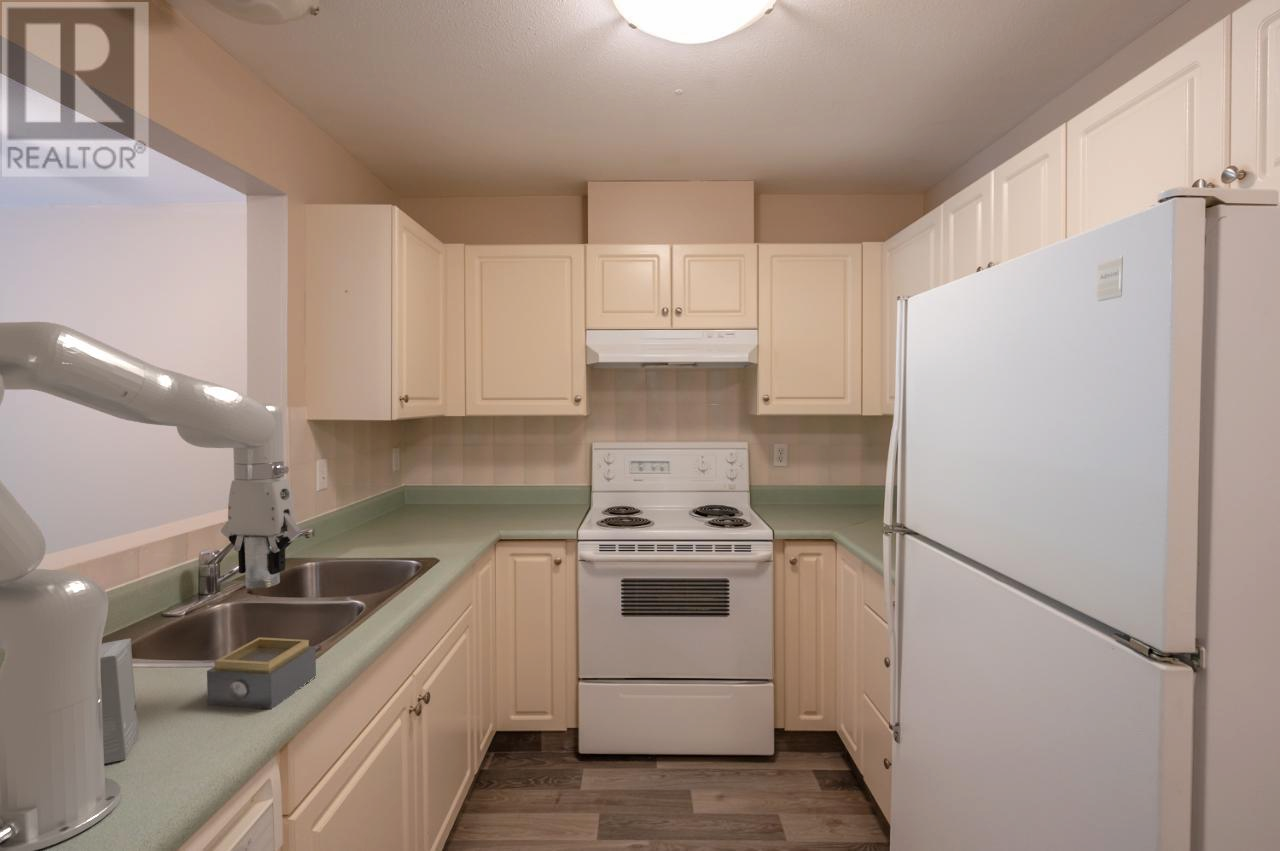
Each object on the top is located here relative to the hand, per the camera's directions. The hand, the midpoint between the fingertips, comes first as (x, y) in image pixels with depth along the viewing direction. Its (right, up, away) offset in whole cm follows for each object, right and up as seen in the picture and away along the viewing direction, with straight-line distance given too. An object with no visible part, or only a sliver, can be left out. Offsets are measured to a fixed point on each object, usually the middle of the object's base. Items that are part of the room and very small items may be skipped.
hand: (262, 570), depth 105 cm
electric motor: (0, -2, 0) cm, 2 cm away
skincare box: (-12, -23, -18) cm, 32 cm away
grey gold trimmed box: (0, -22, +1) cm, 22 cm away
